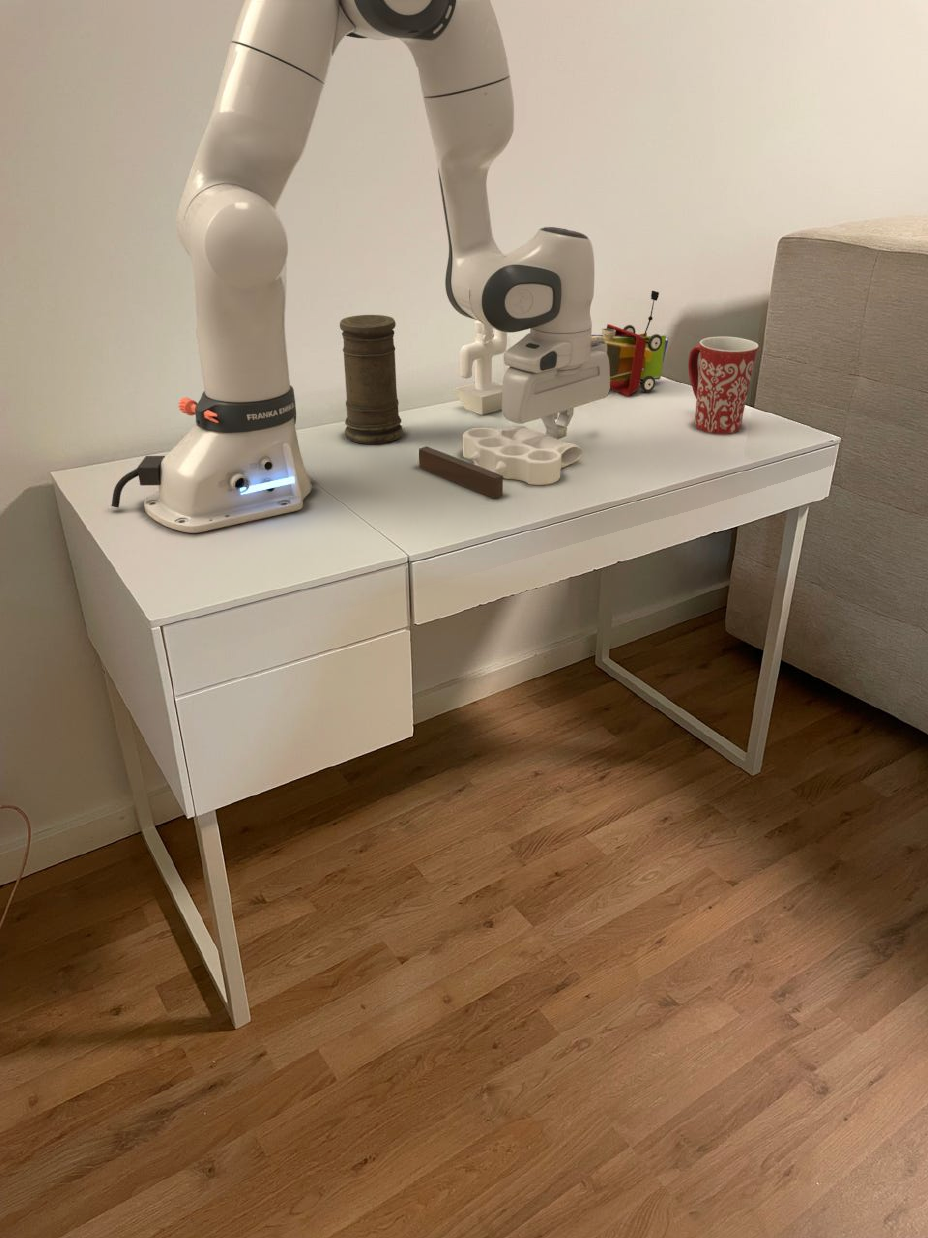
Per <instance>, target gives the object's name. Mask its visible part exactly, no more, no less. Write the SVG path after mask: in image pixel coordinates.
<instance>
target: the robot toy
mask: <svg viewBox="0 0 928 1238" xmlns="http://www.w3.org/2000/svg"><path fill="white" fill-rule="evenodd" d="M659 296H660V291H656V290H651V293H650V300H652V301H653V302H652V306H651V311H650V315H649V316H648V318H647V319H648V322H647V325H646V328H645V330H644V333H639V334H638V333H636V328H635V327H634V326H633V324H627V325H626V326H624V327H623V328H621V327H617V326H615V325H612V324H609V323H607V324H606V327H605V328H602V329H601V334H591V339H593V338H596V337H600V338H601V339H602V340H604V341H605V343H606V344H607V355H608V358H609V367H610V389H609V390H613V391H614V392H617V393H619V394H621V395H623V396H625V397H630V396H631V395H632V394H633V393H635V392H637V391H639V388H640V387H641V390H642V391H643V392H645V393H650V392H651V391H653V390H654V388H655V386H656V380H660V379H661V378H662V371H663V368H664V367H663V366H664V363H665V357H666V354H667V348H668V345H669V344H668V343H669V337H667V335H666V334H665V335H660V334H658V333H655V334H653V335H649V336H648V329H649V326H650V323H651V321H653V310H654V304H655V301H658V299H659Z"/></svg>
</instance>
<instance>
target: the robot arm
mask: <svg viewBox="0 0 928 1238" xmlns="http://www.w3.org/2000/svg"><path fill="white" fill-rule="evenodd" d="M495 13H496V12H495V10H494V7H493V5H492V3H491V0H244V2H243V5H242V7H241V10H240V13H239V15H238V19H237V21H236V24H235V28H234V31H233V34H232V38H231V41H230V42H231V43H230V45H229V49H228V51H227V55H226V60H225V63H224V67H223V71H222V74H221V78H220V82H219V84H218V89H217V91H216V92H217V93H216V96H215V100H214V102H213V103H214V105H213V107H212V110H211V114H210V117H209V120H208V123H207V126H206V129H205V130H204V133H203V136H202V138H201V140H200V144H199V146H198V149H197V151H196V153H195V157H194V160H193V162H192V165H191V169H190V171H189V174H188V176H187V180H186V183H185V186H184V188H183V189H184V190H183V193H182V196H181V198H180V202H179V205H178V208H177V211H176V218H175V227H176V234H177V237H178V240H179V242H180V244H181V246H182V248H183V250H184V251H185V252H186V254H187V255H188V256H189V257H190V260H191V264H192V270H193V271H192V272H193V281H194V291H195V310H196V311H195V312H196V314H195V315H196V330H195V331H196V339H197V347H198V354H199V363H200V368H201V375H202V382H203V392H202V394H201V397H200V399H199V401H198V402H197V401H196V400H194V399H191V398H189V397H186V396H185V397H182V398H181V399H179V402H178V405H177V407H178V408H179V409H178V410H179V411H181V413H184V414H186V415H187V416H195V424H194V425H193V427H192V428H191V429H190V430H188V432H187V433H185V435H184V436H183V437H182V438H181V439H180V440H179V441H178V443H176V445H175V446H174V447H173V448H171V450H170V451H169V452H168V453H167V454H166V455H145V456H144V458H143V459H142V460H141V462H140V463H139V465H138V466H137V468H135V469H133V470H131V471H129V472H128V473H126V474H124V475H123V476H122V477H121V478H120V479H119V480H118V481H117V483H116V484H115V485H114V486H115V487H114V489H113V493H112V501H111V505H110V506H111V507H113V508H116V509H119V508H120V507H119V506H120V501H121V495H122V491H123V489H124V487H125V486H126V485H127V483H129V482H130V481H132V480H133V479H135V478H137V477H138V480H139V485H140V486H158V491H156V492H153V493H151V494H148V495H146V496H145V497H144V500H143V506H144V511H145V513H146V514H147V515H148V516H149V517H150V518H151V519H153V520H154V521H155V522H157V523H158V524H161V525H162V526H165V527H166V528H169V529H172V530H174V531H178V532H184V533H192V534H197V533H198V534H199V533H203V532H207V531H211V530H216V529H220V528H225V527H230V526H234V525H238V524H244V523H248V522H253V521H256V520H261V519H266V518H270V517H274V516H279V515H283V514H289V513H292V512H297V511H300V510H302V509H303V507H304V499H305V498H307V496H308V495H309V494H310V493H311V491H312V489H313V485H312V483H311V481H310V478H309V475H308V473H307V470H306V467H305V464H304V461H303V457H302V454H301V453H302V452H301V449H300V445H299V440H298V435H297V428H296V423H297V408H296V407H297V406H296V398H295V391H294V390H295V389H294V387H293V386H292V385H291V382H290V369H289V357H288V347H287V337H286V336H287V335H286V306H287V305H286V304H287V272H288V269H287V268H288V267H287V259H288V252H289V244H288V236H287V232H286V228H285V226H284V225H285V224H284V223H283V220H282V219H281V217H280V215H279V212H278V211H277V207H278V204H279V202H280V200H281V197H282V195H283V193H284V191H285V189H286V187H287V185H288V182H289V180H290V178H291V176H292V174H293V172H294V171H295V168H296V167H297V164H298V163H299V162H300V160H301V159H302V158H303V155H304V153H305V150H306V147H307V143H308V140H309V137H310V134H311V130H312V126H313V123H314V120H315V118H316V113H317V110H318V107H319V104H320V101H321V97H322V93H323V91H324V87H325V84H326V80H327V77H328V73H329V69H330V66H331V61H332V57H333V56H334V55H335V53H336V51H337V49H338V46H339V45H340V43H341V42H342V41H343V39H345V37H348V38H349V37H350V38H355V39H370V40H374V41H389V40H394V39H395V40H396V39H398V40H399V41H400V42H401V41H402V43H403V44H404V45H405V46H406V47H407V49H408V51H409V52H410V54H411V56H412V59H413V60H414V63H415V66H416V68H417V71H418V72H417V73H418V77H419V83H420V88H421V94H422V100H423V104H424V109H425V113H426V117H427V121H428V126H429V131H430V135H431V139H432V144H433V148H434V153H435V160H436V164H437V174H438V181H439V187H440V195H441V202H442V208H443V215H444V221H445V227H446V228H445V229H446V234H447V240H448V259H447V265H446V270H445V278H444V279H445V280H444V285H445V286H444V287H445V293H446V296H447V300H448V301H449V303H450V305H451V306H452V308H453V309H454V310H455V311H456V312H457V313H458V314H460V315H462V316H464V317H465V318H469V319H472V320H474V321H476V320H478V321H480V322H482V323H483V324H485V325H487V326H490V327H492V328H493V330H495V329H496V330H498V331H502V332H507V333H509V334H510V333H518V332H522V331H525V330H529V332H528V333H527V334H525V336H523V337H522V338H521V339H519V341H518V342H516V343H514V344H513V345H512V346H510V347H509V348H507V349H506V350H505V352H504V353H503V364H504V365H505V366H508V368H507V369H506V370H505V372H504V374H503V379H502V385H503V386H502V409H501V413H502V414H503V417H504V418H505V419H506V420H507V421H509V422H513V423H515V424H518V425H523V424H526V423H530V422H532V421H535V420H536V421H537V420H539V419H541V421H542V423H543V425H544V427H545V428H546V429H545V434H548V435H550V436H552V437H554V438H556V439H559V440H561V439H563V438H566V437H567V436H568V426H569V425H570V422H571V421H572V418H573V416H574V411H575V410H574V409H575V408H577V407H580V406H584V405H586V404H590V403H593V402H596V401H600V400H603V399H606V397H607V396H608V394H609V393H610V390H611V389H610V367H609V358H608V355H607V344H606V343H605V341H604V340H602V339H601V338H600V337H596V338H593V339H591V335H592V333H593V332H592V330H593V329H592V328H593V322H592V318H591V305H592V302H593V300H594V296H595V295H594V294H595V255H594V253H595V252H594V247H593V243H592V241H591V239H590V238H589V237H588V236H587V235H586V234H584V233H582V232H579V231H577V230H576V231H575V230H570V229H567V228H562V227H555V226H544V227H542V228H541V227H540V228H539V229H538V231H537V232H536V233H535V234H534V236H533V237H531V238H530V239H529V240H528V241H527V242H526V243H524V244H522V245H521V246H519V247H518V248H516V249H515V250H513V251H511V252H508V253H506V254H504V253H503V252H502V251H501V250H500V249H499V246H498V245H497V244H496V241H495V239H494V234H493V229H492V228H493V227H492V220H491V219H492V218H491V213H490V206H489V205H490V204H489V197H488V188H487V180H488V174H489V170H490V168H491V166H492V164H493V162H494V161H495V160H496V158H498V157H499V156H500V155H501V154H502V153H503V151H504V150H505V149H506V148H507V146H508V144H509V143H510V140H511V139H512V136H513V135H514V130H515V101H514V100H515V98H514V91H513V86H512V79H511V73H510V67H509V63H508V59H507V58H508V57H507V53H506V49H505V48H506V47H505V44H504V40H503V37H502V33H501V30H500V26H499V23H498V20H497V16H496V14H495ZM555 420H556V421H555Z"/></svg>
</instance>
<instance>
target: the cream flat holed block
mask: <svg viewBox="0 0 928 1238" xmlns="http://www.w3.org/2000/svg"><path fill="white" fill-rule="evenodd" d="M582 453H583V450H582V448H581V447H580V446H579V445H577V444H575V443H572V442H567V441H564V440H561V439H556V438H554V437H552V436H550V435H548V434H546V433H542V432H539V431H536V430H533V429H531V428H529V427H527V426H525V425H514V426H511V427H508V428H494V427H473V428H469V429H467V430H466V431H464V432H463V434H462V456H463V458H464V459H466V460H469V461H472V462H473V464H474V465H477V466H479V467H482V468H484V469H487V470H489V471H492V472H495V473H497V474H500V475H502V476H503V479H506V480H517V481H522V482H524V483H526V484H528V485H532V486H545V485H551V484H554V483H556V482H558V481H559V480H560V478H561V471H562V468H566V467H567V466H569V465H571V464H574V463H575V462H577V461H578V460H579V459H580V458H581V456H582Z"/></svg>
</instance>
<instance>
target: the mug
mask: <svg viewBox="0 0 928 1238" xmlns="http://www.w3.org/2000/svg"><path fill="white" fill-rule="evenodd" d="M759 347H760V345H759V344H758V343H757V342H756V341H754V340H751V339H746V338H743V337H735V336H710V337H705V338H702V339H701V340H700V341H699V342H698V345H695V346H693V347H692V348H691V350H690V353H689V357H688V364H687V365H688V366H687V367H688V375H689V381H690V384H691V388H692V391H693V394H694V397H695V399H696V401H695V413H694V427H696V428H697V429H698V430H700V431H702V432H705V433H710V434H715V435H716V434H717V435H728V434H729V435H730V434H734V433H738V431H740V430H741V428H742V423H743V417H744V412H745V407H746V403H747V397H748V393H749V389H750V388H749V387H750V384H751V379H752V375H753V369H754V365H755V360H756V355H757V351H758V349H759Z"/></svg>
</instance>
